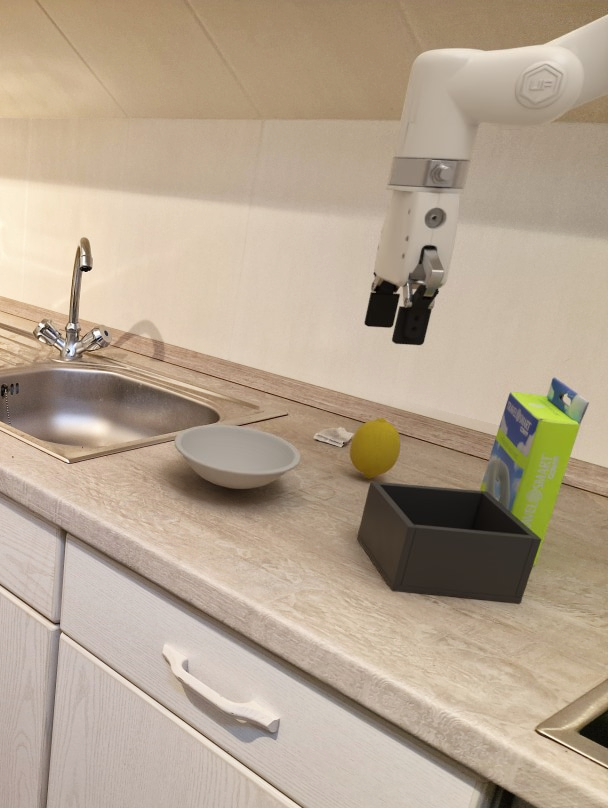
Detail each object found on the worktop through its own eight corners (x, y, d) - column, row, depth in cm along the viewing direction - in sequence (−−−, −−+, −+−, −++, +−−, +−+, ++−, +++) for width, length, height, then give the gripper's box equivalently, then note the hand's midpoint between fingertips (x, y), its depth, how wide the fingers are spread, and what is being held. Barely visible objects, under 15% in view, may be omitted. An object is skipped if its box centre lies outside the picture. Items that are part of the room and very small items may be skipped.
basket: (470, 549, 89) (487, 491, 86) (520, 603, 78) (542, 539, 76) (356, 538, 90) (370, 480, 88) (391, 590, 80) (408, 526, 77)
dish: (295, 524, 93) (304, 481, 91) (162, 503, 97) (168, 461, 95) (290, 470, 109) (297, 433, 107) (175, 454, 112) (180, 418, 111)
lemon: (343, 467, 110) (356, 408, 107) (389, 474, 109) (404, 415, 106) (345, 482, 106) (359, 421, 103) (394, 489, 104) (409, 427, 101)
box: (468, 521, 96) (511, 371, 89) (509, 527, 95) (556, 376, 88) (493, 561, 86) (544, 397, 80) (539, 568, 85) (594, 403, 79)
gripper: (500, 182, 83) (456, 353, 90) (432, 176, 99) (399, 322, 106) (420, 178, 84) (382, 349, 90) (365, 173, 100) (337, 319, 106)
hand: (392, 334), depth 98 cm, fingers open, 9 cm apart
